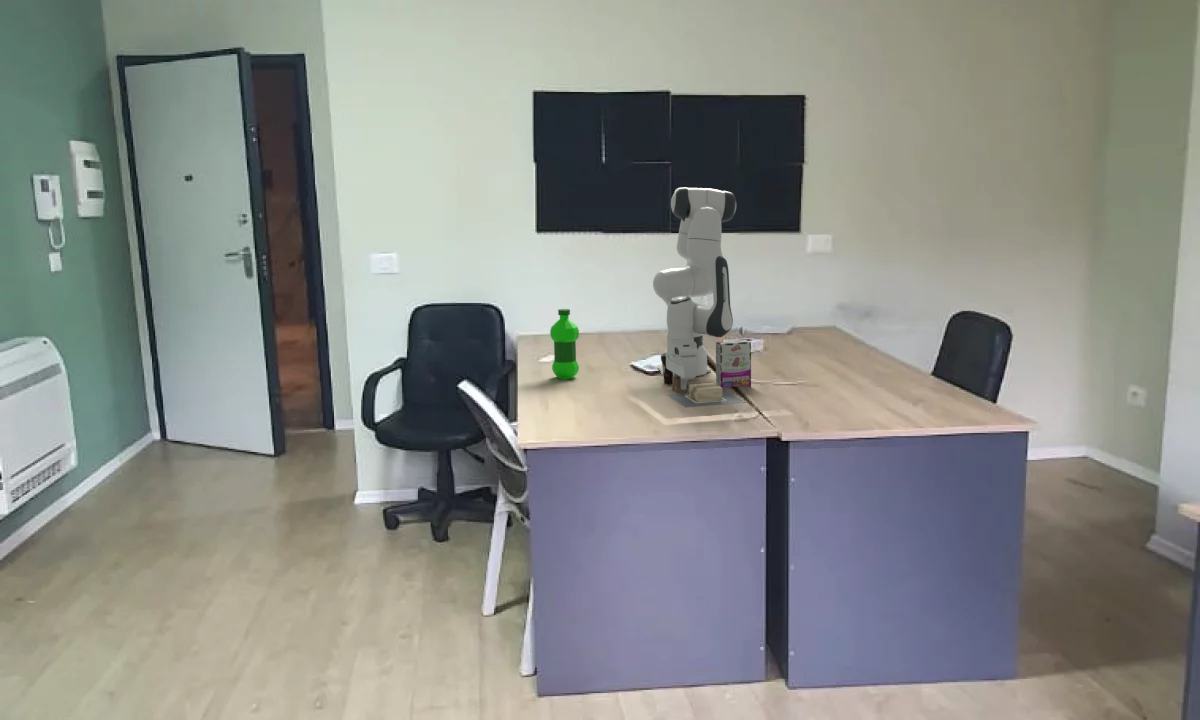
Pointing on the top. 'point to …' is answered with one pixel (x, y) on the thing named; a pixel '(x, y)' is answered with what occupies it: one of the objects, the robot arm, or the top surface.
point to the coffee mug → (666, 371)
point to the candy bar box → (733, 363)
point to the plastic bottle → (564, 346)
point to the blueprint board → (689, 402)
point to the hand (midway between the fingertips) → (680, 387)
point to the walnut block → (678, 385)
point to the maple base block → (705, 392)
